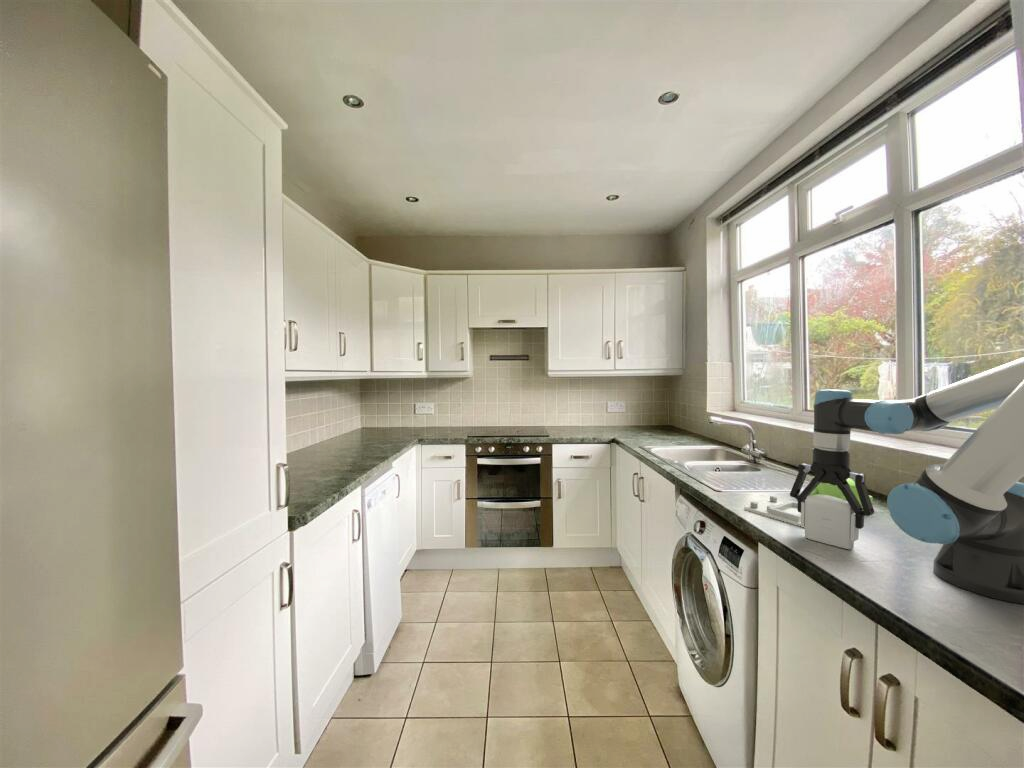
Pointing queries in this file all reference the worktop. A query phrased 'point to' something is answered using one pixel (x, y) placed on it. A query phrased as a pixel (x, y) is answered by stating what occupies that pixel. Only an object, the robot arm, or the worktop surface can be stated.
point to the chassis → (777, 510)
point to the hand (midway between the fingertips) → (828, 532)
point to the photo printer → (828, 520)
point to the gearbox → (836, 490)
